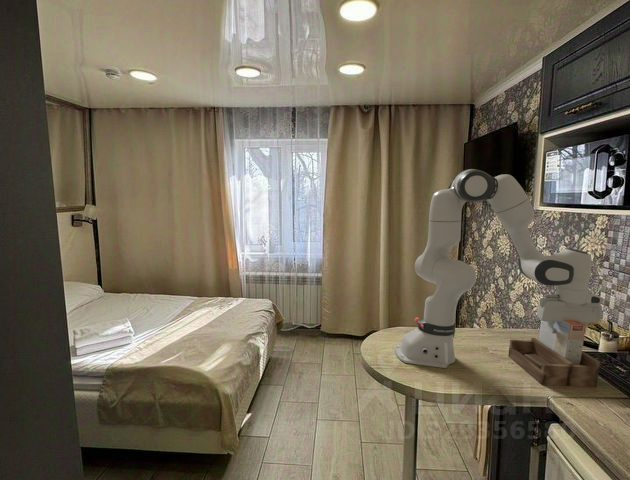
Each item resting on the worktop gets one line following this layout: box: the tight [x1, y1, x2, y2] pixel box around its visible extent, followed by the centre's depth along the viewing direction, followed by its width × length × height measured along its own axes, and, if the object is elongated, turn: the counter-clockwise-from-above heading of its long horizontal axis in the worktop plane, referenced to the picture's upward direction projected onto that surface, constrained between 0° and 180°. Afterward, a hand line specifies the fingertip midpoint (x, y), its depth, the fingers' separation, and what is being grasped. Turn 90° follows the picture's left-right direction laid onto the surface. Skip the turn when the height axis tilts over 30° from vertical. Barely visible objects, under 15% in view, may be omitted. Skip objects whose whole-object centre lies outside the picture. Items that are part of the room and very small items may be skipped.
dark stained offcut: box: [524, 354, 550, 369], centre depth 122 cm, size 4×8×2 cm, turn 8°
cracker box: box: [538, 320, 586, 365], centre depth 123 cm, size 14×6×21 cm, turn 0°
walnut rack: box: [507, 337, 601, 388], centre depth 122 cm, size 18×20×10 cm
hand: (565, 333), depth 121 cm, fingers open, 8 cm apart
